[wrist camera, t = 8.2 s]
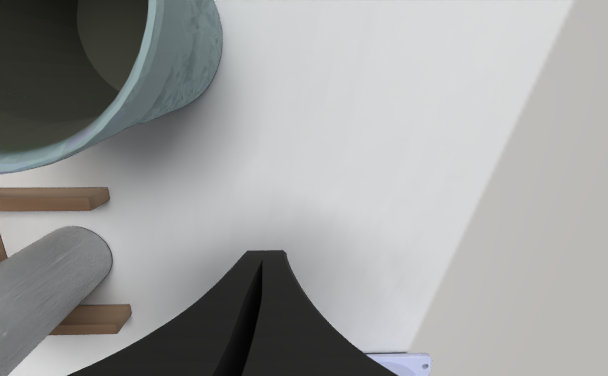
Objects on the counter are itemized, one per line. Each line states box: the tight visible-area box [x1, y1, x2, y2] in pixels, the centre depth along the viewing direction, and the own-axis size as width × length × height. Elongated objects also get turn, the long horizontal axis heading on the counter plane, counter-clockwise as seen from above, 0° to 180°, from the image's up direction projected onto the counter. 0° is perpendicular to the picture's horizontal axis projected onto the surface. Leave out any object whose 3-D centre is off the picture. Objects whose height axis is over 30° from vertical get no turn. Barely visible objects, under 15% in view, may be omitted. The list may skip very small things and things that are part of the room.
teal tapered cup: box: [0, 0, 222, 174], centre depth 12 cm, size 10×10×12 cm
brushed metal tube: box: [0, 227, 112, 376], centre depth 17 cm, size 4×4×10 cm
